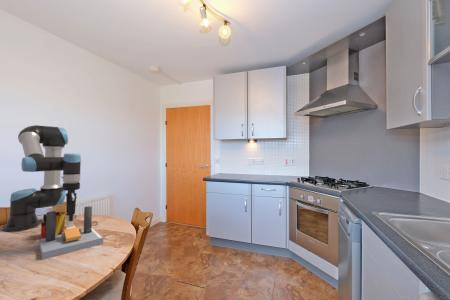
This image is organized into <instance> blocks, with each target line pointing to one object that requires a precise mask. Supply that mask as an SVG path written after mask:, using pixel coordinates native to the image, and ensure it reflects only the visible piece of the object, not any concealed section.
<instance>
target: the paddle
mask: <svg viewBox="0 0 450 300" xmlns="http://www.w3.org/2000/svg"><path fill="white" fill-rule="evenodd" d="M63 232H64V236H65V239H66V242H68V241H72V240H76V239H81V234H80V231H79V227H78V225H77V224H74V227H69V228H67V225H66V226H65V227H63Z"/></svg>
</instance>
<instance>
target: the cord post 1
mask: <svg viewBox="0 0 450 300" xmlns="http://www.w3.org/2000/svg"><path fill="white" fill-rule="evenodd" d="M56 212H57V211H55V210H54V211H48V212H46V214H47V216H46V242H50V241H54V240H55V223H56Z"/></svg>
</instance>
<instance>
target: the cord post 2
mask: <svg viewBox="0 0 450 300" xmlns="http://www.w3.org/2000/svg"><path fill="white" fill-rule="evenodd" d="M83 211H84V213H83V230H84V233H85V234H86V233H90V232H91V228H92V221H93V219H92V218H93V216H92V215H93V206H91V205H90V206H89V205H88V206H84V207H83Z"/></svg>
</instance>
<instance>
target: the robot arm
mask: <svg viewBox="0 0 450 300" xmlns="http://www.w3.org/2000/svg"><path fill="white" fill-rule="evenodd" d="M17 139H18V142H19V143H20V144H21V146H22V149H23V154H24V157H23V158H22V159H21V164H20V165H21V171H22V172H23V173H25V172H26V173H28V172H29V173H36V172H37V173H38V172H43V185H41V187H40V189H38V190H37V188H27V189H21V190H17V191H13V192H11V194H10V199H9V202H10V204H9V217H8V220H7V221H6V224H5V226H4V230H5V232H19V231H25V230H29V229H33V228H36V227H38V226H39V223H40V222H39V219H38V217H37V215H36V214H37V213H36V210H37V209H43V208H51V207H57V206H61V205H62V204H63V203H64V202H65V200H66V213H65V216H66V226H67V228H69V227H74V225H75V224H74V223H75V214H76V205H77V204H76V202H77V193H76V191H77V190H79V189H80V188H81V163H82V162H81V161H82V159H81V158H82V157H81V154H80V153H69V152H68V153H64V154H63V156H62V152H63V151H62V150H63V149H64V148H65V145H68V143H69V134H68V131H67V130H66V128H64V127H60V126H48V125H38V124H37V125H36V124H35V125H30V126H26V127H25V128H22V130H21V131H19V132H18V137H17ZM41 144H42V147H41ZM42 148H44V151H45V153H44V152H43V150H42ZM61 171H62V176H61ZM61 179H62V182H63V183H62V184H61ZM66 191H67V193H66ZM65 198H66V199H65Z"/></svg>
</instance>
